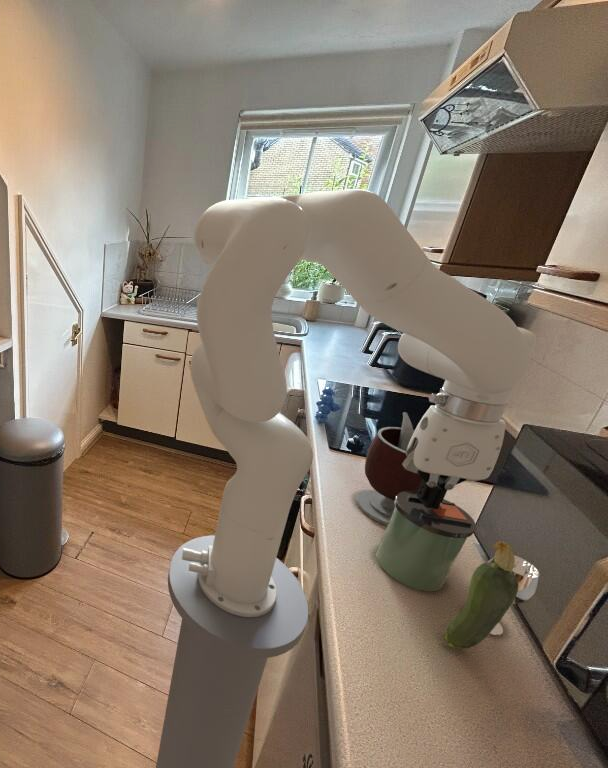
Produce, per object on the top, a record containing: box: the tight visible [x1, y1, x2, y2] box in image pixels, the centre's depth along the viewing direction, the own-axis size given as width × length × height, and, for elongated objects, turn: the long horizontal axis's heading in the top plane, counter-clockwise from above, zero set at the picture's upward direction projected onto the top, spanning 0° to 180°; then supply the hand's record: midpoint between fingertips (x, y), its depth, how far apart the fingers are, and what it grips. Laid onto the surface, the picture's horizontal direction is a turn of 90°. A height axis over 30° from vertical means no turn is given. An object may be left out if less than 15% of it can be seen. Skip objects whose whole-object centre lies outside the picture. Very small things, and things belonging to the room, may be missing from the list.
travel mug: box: [375, 491, 477, 592], centre depth 71 cm, size 11×11×14 cm
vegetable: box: [444, 541, 518, 650], centre depth 55 cm, size 4×4×20 cm
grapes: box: [314, 386, 341, 423], centre depth 124 cm, size 12×7×12 cm, turn 149°
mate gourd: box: [355, 411, 423, 526], centre depth 85 cm, size 16×14×20 cm
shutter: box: [432, 503, 467, 521], centre depth 68 cm, size 4×4×2 cm
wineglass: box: [486, 554, 541, 636], centre depth 62 cm, size 6×6×12 cm
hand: (426, 503), depth 68 cm, fingers closed
